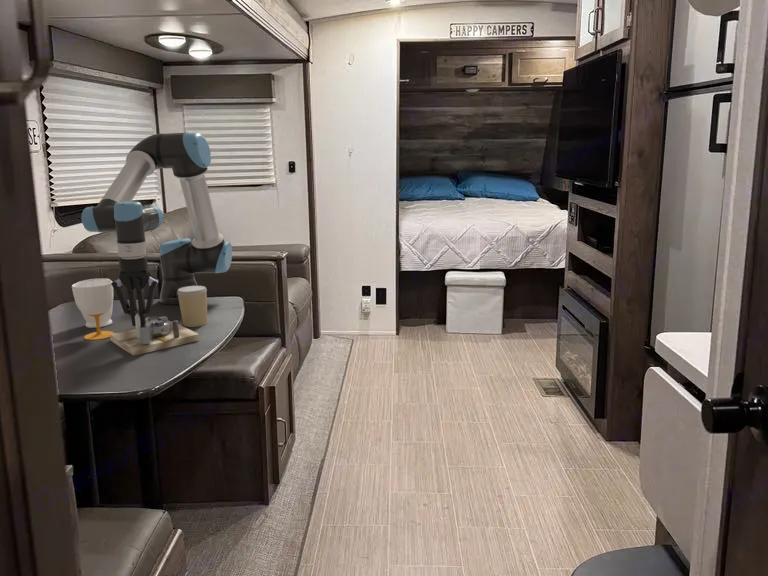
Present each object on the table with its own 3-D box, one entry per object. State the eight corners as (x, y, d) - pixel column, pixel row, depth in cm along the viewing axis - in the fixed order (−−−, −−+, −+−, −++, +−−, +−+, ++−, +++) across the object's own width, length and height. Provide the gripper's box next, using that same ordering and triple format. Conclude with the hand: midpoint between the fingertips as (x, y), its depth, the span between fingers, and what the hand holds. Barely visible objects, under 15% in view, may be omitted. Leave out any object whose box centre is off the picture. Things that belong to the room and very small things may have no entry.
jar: (103, 329, 212) (97, 285, 209) (75, 328, 215) (68, 284, 211) (122, 320, 223) (116, 278, 219) (95, 320, 225) (89, 277, 221)
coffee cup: (200, 318, 222) (197, 284, 220) (215, 323, 216) (211, 287, 213) (175, 324, 216) (171, 289, 213) (189, 329, 209) (185, 293, 207)
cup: (90, 331, 211) (82, 279, 208) (125, 330, 211) (118, 278, 207) (72, 342, 200) (64, 288, 196) (109, 341, 200) (102, 287, 196)
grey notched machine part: (140, 329, 202) (138, 314, 201) (173, 327, 204) (172, 312, 202) (127, 345, 187) (125, 328, 186) (163, 343, 188) (161, 326, 187)
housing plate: (173, 327, 212) (171, 306, 211) (200, 340, 197) (197, 318, 195) (109, 340, 200) (106, 319, 198) (131, 356, 184) (128, 332, 183)
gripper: (105, 259, 180) (113, 341, 185) (152, 258, 181) (159, 339, 186) (113, 254, 187) (121, 333, 193) (159, 253, 188) (166, 332, 194)
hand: (140, 336), depth 189 cm, fingers closed
